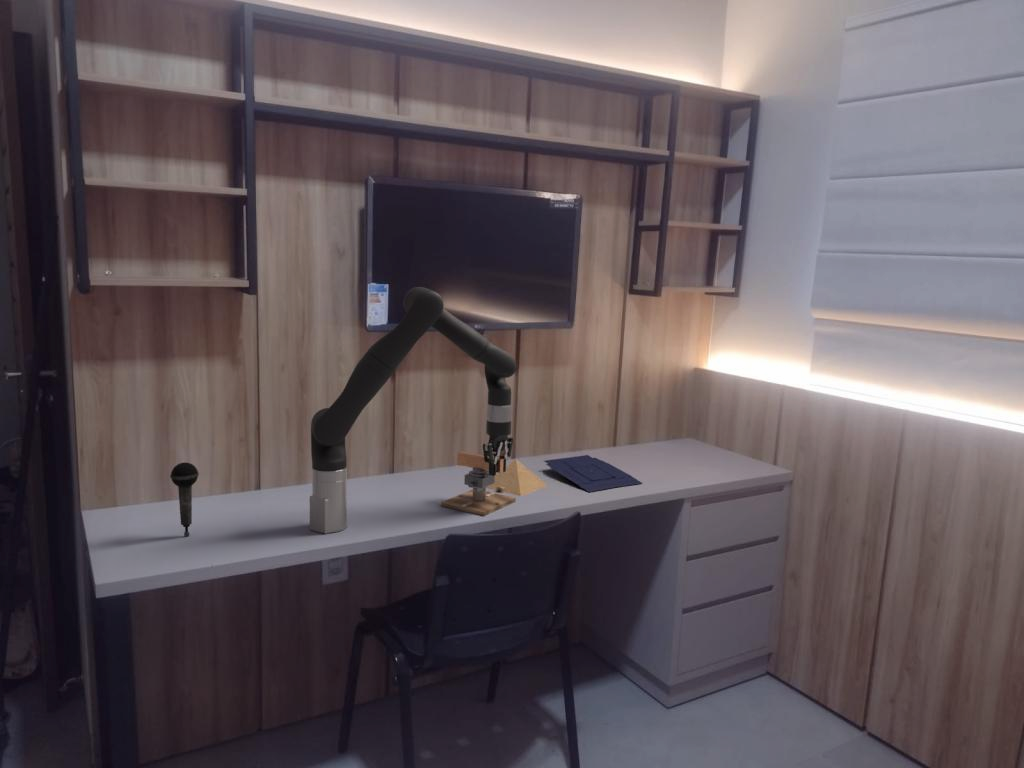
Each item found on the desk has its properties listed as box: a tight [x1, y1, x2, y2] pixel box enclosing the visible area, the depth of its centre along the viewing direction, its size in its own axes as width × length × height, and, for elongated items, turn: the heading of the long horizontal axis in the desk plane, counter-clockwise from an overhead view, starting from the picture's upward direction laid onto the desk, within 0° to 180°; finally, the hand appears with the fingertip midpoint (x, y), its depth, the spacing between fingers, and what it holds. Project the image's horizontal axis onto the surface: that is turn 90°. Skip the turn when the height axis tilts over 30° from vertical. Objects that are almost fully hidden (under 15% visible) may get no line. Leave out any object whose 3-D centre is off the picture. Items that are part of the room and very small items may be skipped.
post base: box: [440, 487, 517, 517], centre depth 232 cm, size 18×16×9 cm
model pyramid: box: [486, 458, 548, 497], centre depth 252 cm, size 17×17×10 cm
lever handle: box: [456, 450, 504, 489], centre depth 231 cm, size 10×16×9 cm, turn 58°
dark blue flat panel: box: [543, 454, 643, 493], centre depth 266 cm, size 24×30×4 cm
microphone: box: [169, 462, 200, 537], centre depth 195 cm, size 7×7×20 cm
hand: (497, 473), depth 227 cm, fingers open, 5 cm apart
